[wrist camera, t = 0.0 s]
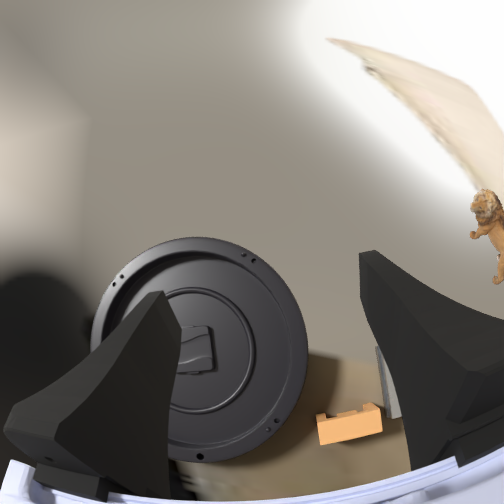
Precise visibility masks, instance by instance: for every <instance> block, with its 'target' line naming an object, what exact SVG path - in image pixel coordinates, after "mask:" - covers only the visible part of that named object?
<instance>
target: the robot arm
mask: <svg viewBox="0 0 504 504" xmlns="http://www.w3.org/2000/svg"><path fill="white" fill-rule="evenodd" d="M359 269H360V298H361V302H362V305H363V308H364V311H365V315H366V318H367V321H368V323H369V325H370V328H371V330H372V332H373V334H374V337H375V339H376V341H377V343H378V346H379V348H380V350H381V352H382V355H383V357H384V359H385V362H386V364H387V366H388V369H389V372H390V374H391V377H392V380H393V384H394V387H395V391H396V395H397V398H398V402H399V406H400V411H401V415H402V419H403V424H404V429H405V434H406V439H407V444H408V451H409V457H410V464H411V472H408V473H405V474H402V475H399V476H395V477H392V478H388V479H385V480H381V481H377V482H373V483H369V484H365V485H361V486H356V487H352V488H347V489H342V490H337V491H332V492H326V493H320V494H314V495H307V496H300V497H292V498H282V499H271V500H258V501H234V502H204V501H181V500H171V495H170V484H169V471H168V425H169V410H170V403H171V397H172V392H173V387H174V382H175V377H176V372H177V367H178V362H179V357H180V351H181V336H182V328H181V326H180V324H179V322H178V320H177V318H176V316H175V314H174V312H173V310H172V308H171V306H170V303H169V301H168V299H167V297H166V295H165V293H164V291H163V290H160V291H154V292H149V293H148V294H147V295H146V296H145V297H144V298H143V299H142V300H141V301H140V302H139V303H138V304H137V305H136V306H135V307H134V308H133V309H132V311H131V312H130V313H129V314H128V315H127V316H126V317H125V318H124V320H123V321H122V322H121V323H120V324H119V325H118V326H117V327H116V328H115V330H114V331H113V332H112V333H111V334H110V335H109V336H108V337H107V338H106V339H105V340H104V341H103V342H102V343H101V344H100V345H99V346H98V347H97V348H96V349H95V350H94V351H93V352H92V353H91V354H90V355H89V356H87V357H86V358H85V359H84V360H83V361H82V362H81V363H79V364H78V365H77V366H76V367H74V368H73V369H72V370H70V371H69V372H68V373H67V374H65V375H64V376H63V377H61V378H60V379H58V380H57V381H55V382H54V383H53V384H51V385H50V386H48V387H46V388H45V389H43V390H42V391H40V392H38V393H36V394H34V395H33V396H31V397H28V398H27V399H25V400H23V401H21V402H19V403H16V404H15V405H14V406H13V408H12V411H11V413H10V415H9V417H8V419H7V422H6V424H5V426H4V433H5V435H6V437H7V438H8V439H9V440H10V441H11V442H12V443H13V444H14V445H15V446H16V447H18V448H19V449H20V450H21V451H23V452H24V453H25V454H27V455H28V456H29V457H31V458H32V459H33V460H35V461H36V462H38V464H37V467H36V469H35V468H33V467H31V466H29V465H26V464H24V463H21V462H18V461H15V460H11V461H10V463H9V466H8V469H7V472H6V475H5V478H4V481H3V484H2V487H1V491H0V504H504V320H502V319H499V318H496V317H492V316H489V315H487V314H484V313H481V312H479V311H476V310H474V309H471V308H469V307H466V306H464V305H462V304H460V303H458V302H455V301H454V300H452V299H450V298H448V297H446V296H444V295H442V294H440V293H438V292H437V291H435V290H433V289H431V288H430V287H428V286H427V285H425V284H423V283H422V282H420V281H419V280H417V279H415V278H414V277H412V276H411V275H410V274H408V273H406V272H405V271H404V270H402V269H401V268H400V267H398V266H397V265H395V264H394V263H393V262H391V261H390V260H388V259H387V258H386V257H384V256H383V255H382V254H380V253H379V252H377V251H376V250H372V251H368V252H363V253H359Z"/></svg>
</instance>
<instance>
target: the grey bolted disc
mask: <svg viewBox="0 0 504 504" xmlns="http://www.w3.org/2000/svg"><path fill="white" fill-rule="evenodd" d="M160 290H163V291H164V293H165V295H166V297H167V299H168V301H169V303H170V306H171V308H172V310H173V312H174V314H175V316H176V318H177V320H178V322H179V324H180V326H181V328H182V336H181V351H180V357H179V362H178V367H177V372H176V377H175V382H174V387H173V392H172V397H171V403H170V410H169V425H168V457H169V458H172V459H176V460H180V461H186V462H195V463H209V462H218V461H224V460H228V459H232V458H235V457H238V456H240V455H243V454H245V453H247V452H249V451H251V450H253V449H255V448H257V447H258V446H260V445H261V444H263V443H264V442H265V441H267V440H268V439H269V438H270V437H271V436H273V435H274V434H275V433H276V432H277V431H278V430H279V429H280V427H281V426H282V425H283V424H284V423H285V421H286V420H287V419H288V417H289V416H290V414H291V413H292V411H293V409H294V407H295V406H296V404H297V401H298V399H299V397H300V394H301V392H302V389H303V386H304V382H305V378H306V373H307V366H308V340H307V333H306V328H305V324H304V320H303V317H302V314H301V311H300V308H299V306H298V304H297V302H296V300H295V298H294V296H293V294H292V293H291V291H290V289H289V288H288V286H287V285H286V283H285V282H284V280H283V279H282V278H281V277H280V276H279V275H278V273H276V271H275V270H274V269H273V268H272V267H271V266H270V265H269V264H267V263H266V262H265V261H264V260H263V259H261V258H260V257H258V256H257V255H255V254H254V253H252V252H251V251H249V250H247V249H245V248H243V247H241V246H239V245H236V244H233V243H231V242H228V241H224V240H220V239H215V238H208V237H186V238H179V239H174V240H171V241H167V242H164V243H161V244H159V245H156V246H154V247H152V248H150V249H148V250H146V251H144V252H142V253H141V254H139V255H138V256H137V257H135V258H134V259H132V260H131V261H130V262H129V263H128V264H127V265H126V266H124V267H123V268H122V269H121V271H120V272H119V273H118V274H117V275H116V276H115V278H114V279H113V280H112V282H111V283H110V284H109V286H108V288H107V289H106V291H105V293H104V295H103V297H102V299H101V301H100V303H99V306H98V308H97V311H96V314H95V318H94V322H93V327H92V333H91V353H92V352H93V351H94V350H95V349H96V348H97V347H98V346H99V345H100V344H101V343H102V342H103V341H104V340H105V339H106V338H107V337H108V336H109V335H110V334H111V333H112V332H113V331H114V330H115V328H116V327H117V326H118V325H119V324H120V323H121V322H122V321H123V320H124V318H125V317H126V316H127V315H128V314H129V313H130V312H131V311H132V309H133V308H134V307H135V306H136V305H137V304H138V303H139V302H140V301H141V300H142V299H143V298H144V297H145V296H146V295H147V294H148V293H149V292H154V291H160Z"/></svg>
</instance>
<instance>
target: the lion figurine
mask: <svg viewBox="0 0 504 504" xmlns="http://www.w3.org/2000/svg"><path fill="white" fill-rule="evenodd" d="M502 208H503V207H502V204H501V203H500V200H499V199H498V197H497V195H496V194H495V193H494V192H493V191H490V190H488V189H487V190H484V189H482V190H481V191H480V192H478V193H477V194H476V195H475V196H474V202H473V203H471V208H470V209H471V212H475V214H476V219H477V221H478V226H479V228H478V230H477V232H474V231H472V232H471V233H470V237H471V238H472V239H477V238H479V237H480V236H481V235H487V234H488V235H489V238H490V240H491V242H492V244H493V245H494V247H495V248H496V249H497V250H498V251H499V252H500V254H499V255H497V260H498V261H499V263H498V277H497V276H494V278H493V283H494V284H499V283H501V282H502V281H503V280H504V210H503V209H502Z"/></svg>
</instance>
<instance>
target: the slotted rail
mask: <svg viewBox="0 0 504 504" xmlns="http://www.w3.org/2000/svg"><path fill="white" fill-rule="evenodd" d="M375 349H376V355H377V361H378V367H379V373H380V380H381V386H382V393H383V401H384V408H385V416H386V417H387V418H388V417H390V418H391V419H395V418H398V417H401V416H402V415H401V411H400V406H399V402H398V398H397V395H396V391H395V387H394V384H393V380H392V377H391V374H390V372H389V369H388V366H387V364H386V362H385V359H384V357H383V355H382V352H381V350H380V348H379V346H377V347H375Z"/></svg>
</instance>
